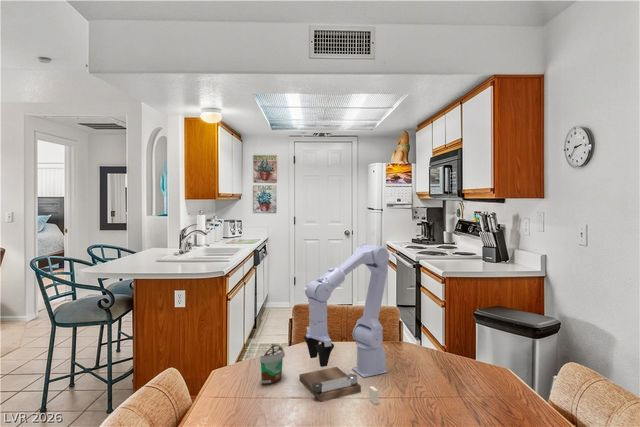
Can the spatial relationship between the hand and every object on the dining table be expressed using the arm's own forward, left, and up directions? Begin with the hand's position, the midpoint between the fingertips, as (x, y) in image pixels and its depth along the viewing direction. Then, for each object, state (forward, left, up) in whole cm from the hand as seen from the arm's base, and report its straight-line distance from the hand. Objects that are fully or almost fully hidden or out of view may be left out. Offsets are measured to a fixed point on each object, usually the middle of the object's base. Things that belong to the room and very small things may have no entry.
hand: (318, 361), depth 131 cm
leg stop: (-11, +15, -8) cm, 21 cm away
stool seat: (-4, 0, -8) cm, 9 cm away
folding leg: (-3, +6, -6) cm, 9 cm away
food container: (+10, -12, -9) cm, 18 cm away
